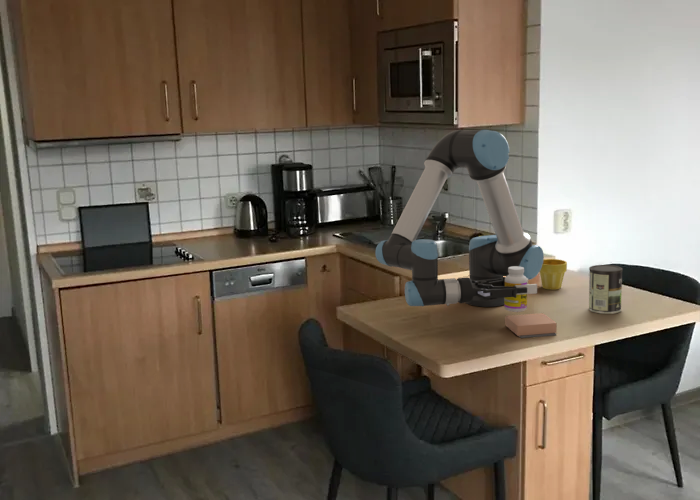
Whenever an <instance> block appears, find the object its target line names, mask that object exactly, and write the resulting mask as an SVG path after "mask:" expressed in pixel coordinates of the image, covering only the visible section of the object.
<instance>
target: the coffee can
mask: <svg viewBox="0 0 700 500" xmlns="http://www.w3.org/2000/svg"><path fill="white" fill-rule="evenodd" d="M588 270H589V277H588V278H589V287H588V288H589V289H588V290H589V291H588V292H589V293H588V310H589V311H590V312H592V313H596V314H600V315H601V314H603V315H605V314H606V315H613V314H617V313H621V312H622V293H623V291H622V289H623V287H622V286H623V285H622V284H623V271H624V270H623V267H622V266H618V265H613V264H612V265H611V264H597V265H596V264H595V265H591V266H589V267H588Z"/></svg>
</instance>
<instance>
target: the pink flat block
mask: <svg viewBox="0 0 700 500" xmlns="http://www.w3.org/2000/svg"><path fill="white" fill-rule="evenodd" d="M504 317H505V319H504V321H505V322H504V323H505V326H506V327H507V328H508V329H509V330H511V332H513V333H514V334H515V335H516V336H518V337H519V336H521V335H533V334H546V333H556V334H557V330H558V329H557V326H558V325H557V323H558V322H556V321H554V320H553V319H552V318H550V317H549V316H548V315H546V314H544V312H541V313H540V312H539V313H527V314H524V313H523V314H511V315H505V316H504Z"/></svg>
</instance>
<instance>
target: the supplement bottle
mask: <svg viewBox="0 0 700 500" xmlns="http://www.w3.org/2000/svg"><path fill="white" fill-rule="evenodd" d="M508 273H509V275H508V276H506V277H505V286H515V285H527V278H526V277H525V276H524V275H523V273H524V268H523V267H519V266H512V267H509V268H508ZM527 306H528V294H520V295H516V298H514V297H505V300H504V305H503V307H504V309H505V310H506V311H508V312H514V313H520V312H524V311H527V309H528V307H527Z"/></svg>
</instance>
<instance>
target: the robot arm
mask: <svg viewBox="0 0 700 500" xmlns="http://www.w3.org/2000/svg"><path fill="white" fill-rule="evenodd" d="M509 153H510V146H509V143H508V141H507V139H506V137H505V136H504V135H503V134H502V133H501V132H498V131H496V130H490V129H480V130H479V129H478V130H475V129H474V130H473V129H472V130H468V129H467V130H466V129H465V130H464V129H458V130H457V129H456V130H453V131H450V132H449V133H447V134H445V135H444V136H443V137H441V139H439V140H438V142H436V143H435V145H434V146H433V147H432V149H431V150H430V152H429V153H428V155H427V157H426V158H425V160H424V163H423V165H424V169H423V171H422V173H421V176H420V177H419V179H418V181H417V183H416V185H415V187H414V189H413V191H412V193H411V195H410V197H409V199H408V201H407V203H406V205H405V207H404V208H403V210H402V212H401V215H400V217H399V219H398V220H397V223H396V225H395V226H394V228H393V230H392V232H391V235H389V238H388V239H386V240H381V241H380V242H378V243H377V244H376V245H377V246H376V247H375V255H374V256H375V258H376V260H377V262H379V263H380V264H381V265H385V266H387V267H393V268H400V269H403V270H409V271H411V276H412V277H411V280H410V281H406V282H405V285H404V297H405V301H406V303H407V305H408V306H409V307H426V306H427V307H428V306H441V305H446V306H448V307H449V306H450V305H451V304H452V305H453V304H457V303H459V304H468V305H469V306H475V307H484V308H489V307H491V308H493V307H500V306H504V300H505V297H514V298H516V295H520V294H527V295H533V294H538V283H531V284H530V283H529V280H533V279H534V278H536V277H537V276H538V275H539V274H540V270H541V267H542V264H543V259H545V258H544V256H545V255H544V250H543V248H542V247H541V246H540V245H538V244H533V241H532V239H531V236H530V235H529V233H528V232H525V231H524V230H523V227H522V224H521V221H520V217H519V215H518V212H517V209H516V205H515V203H514V200H513V196H512V193H511V192H510V191H511V190H510V187H509V184H508V182H507V179H506V176H505V174H504V172H505V170H506V168H507V164H508V161H509V158H510V155H509ZM458 168H460V169H462V168H463V169H467V172H468V175H469V178H470V179H471V180H472V181H475V182H476V183H477V185H478V189H479V192H480V194H481V197H482V199H483V202H484V203H483V204H484V205H485V208H486V211H487V214H488V217H489V219H490V223H491V225H492V228H493V231H494V234H490V235H481V236H476V237H472V238H471V239H470V241H469V245H468V246H469V247H468V264H469V265H468V268H469V269H468V270H469V277H458V278H455V277H453V278H441V279H440V278H439V276H438V275H439V274H438V273H439V270H438V269H439V267H438V265H439V260H438V259H439V257H438V256H439V253H438V244H437V242H436V240H433V239H428V238H427V239H426V238H423V239H418V236H419V234H420V232H421V230H422V228H423V226H424V225H425V222H426V221H427V218H428V216H429V215H430V212H431V210H432V209H433V206H434V204H435V202H436V200H437V198H438V197H439V195H440V193H441V191H442V188H443V187H444V184H445V182H446V180H447V179H448V178H451V177H452V176H453V175H454V172H455V171H456V170H457V169H458ZM512 266H519V267H523V268H524V273H523V275H524V276H525V277H526V278H527V285H515V286H505V277H503V276H508V275H509V273H508V268H509V267H512ZM438 278H439V279H438Z"/></svg>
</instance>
